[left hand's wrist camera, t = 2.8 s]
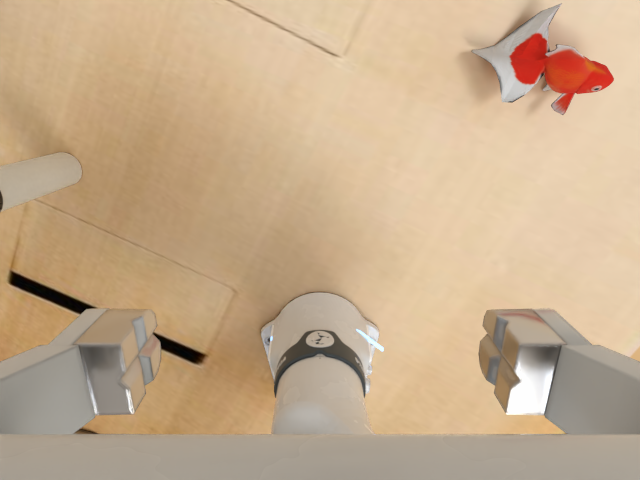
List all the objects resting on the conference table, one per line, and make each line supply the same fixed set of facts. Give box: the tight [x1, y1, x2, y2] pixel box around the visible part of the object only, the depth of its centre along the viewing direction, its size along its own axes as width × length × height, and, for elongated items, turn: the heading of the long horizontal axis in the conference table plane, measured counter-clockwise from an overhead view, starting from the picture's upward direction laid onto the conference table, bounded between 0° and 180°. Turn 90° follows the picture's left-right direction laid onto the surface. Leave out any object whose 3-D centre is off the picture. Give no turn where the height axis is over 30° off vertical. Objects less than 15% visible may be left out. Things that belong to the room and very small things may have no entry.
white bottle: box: [0, 152, 82, 211], centre depth 49 cm, size 5×5×17 cm
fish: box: [471, 3, 614, 115], centre depth 49 cm, size 11×16×10 cm
